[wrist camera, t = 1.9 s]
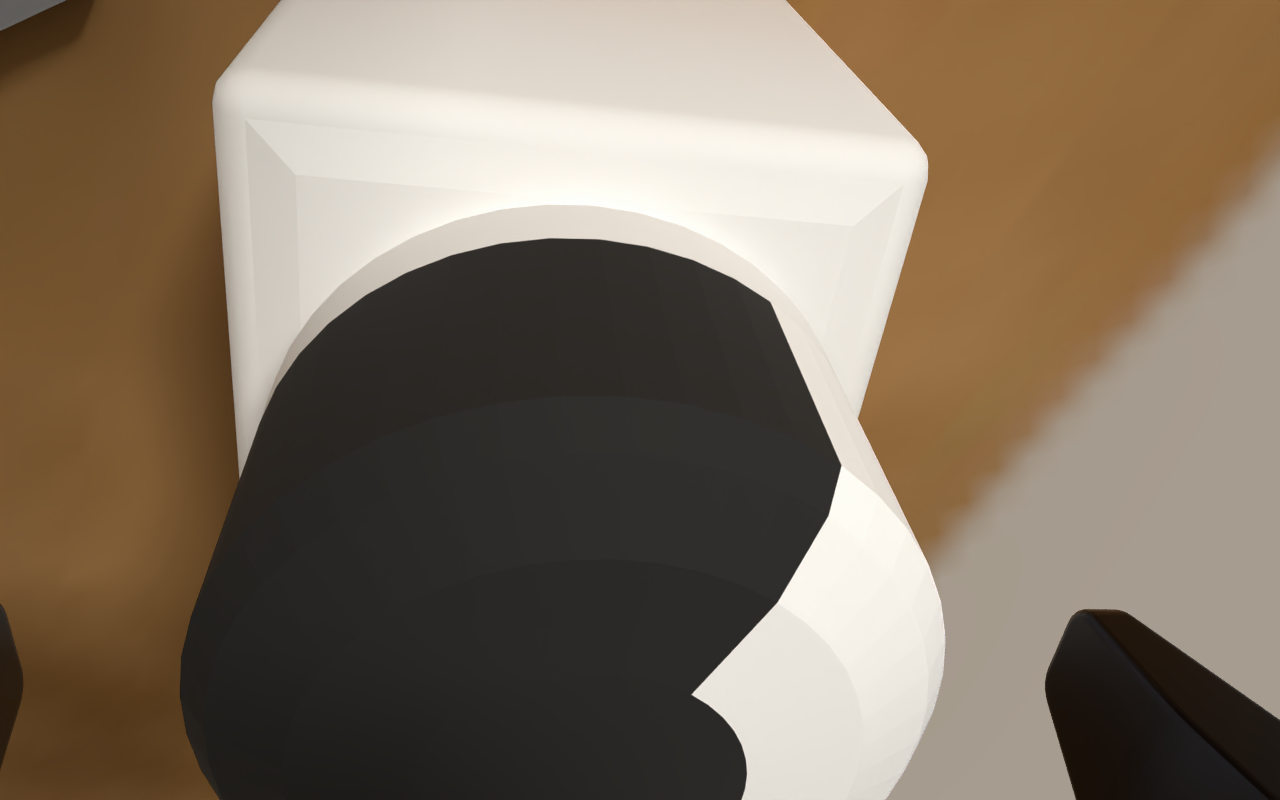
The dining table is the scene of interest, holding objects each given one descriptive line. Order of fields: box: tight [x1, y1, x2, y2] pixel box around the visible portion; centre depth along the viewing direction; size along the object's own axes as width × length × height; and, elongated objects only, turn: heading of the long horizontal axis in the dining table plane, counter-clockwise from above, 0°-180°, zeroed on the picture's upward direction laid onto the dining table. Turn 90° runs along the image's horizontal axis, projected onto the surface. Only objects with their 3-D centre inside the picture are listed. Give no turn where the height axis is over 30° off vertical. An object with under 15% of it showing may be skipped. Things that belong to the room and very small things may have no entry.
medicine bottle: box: [180, 0, 946, 800], centre depth 13 cm, size 7×7×12 cm
